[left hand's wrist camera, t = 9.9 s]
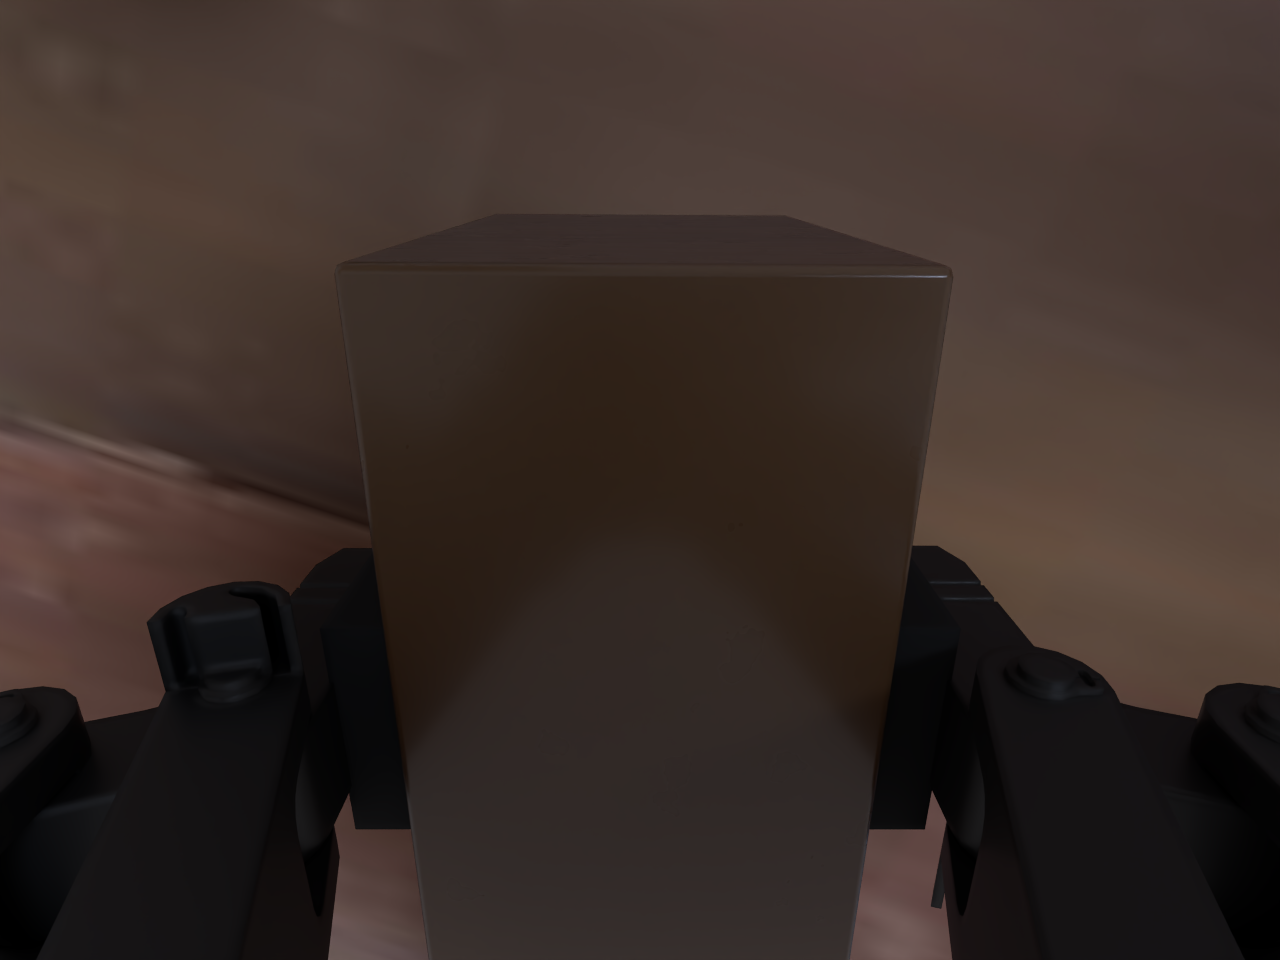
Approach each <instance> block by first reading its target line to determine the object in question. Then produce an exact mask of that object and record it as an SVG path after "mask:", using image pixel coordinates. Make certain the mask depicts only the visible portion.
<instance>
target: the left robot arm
mask: <svg viewBox="0 0 1280 960" xmlns="http://www.w3.org/2000/svg"><path fill="white" fill-rule="evenodd" d="M147 626H148V629H149V633H150V636H151V640H152V644H153V647H154V651H155V654H156V658H157V662H158V665H159V669H160V673H161V676H162V680H163V683H164V687H165V691H166V692H165V695H164V697H163V699H162V701H161V703H160V705H159V707H156V708H152V709H148V710H144V711H139V712H134V713H129V714H123V715H118V716H113V717H108V718H103V719H98V720H93V721H87V722H84V720H83V717H82V714H81V711H80V708H79V705H78V702H77V699H76V697H75V696H73V695H72V694H70V693H69V692H68V691H66V690H65V689H60V688H52V687H44V686H42V687H33V688H25V689H13V690H8V691H4V692H0V960H328V954H329V945H330V936H331V928H332V919H333V910H334V902H335V893H336V884H337V876H338V867H339V858H340V856H339V850H338V844H337V838H336V833H335V828H334V824H335V822H336V819H337V817H338V815H339V813H340V811H341V809H342V807H343V804H344V802H345V800H346V798H347V796H348V794H349V795H350V801H351V806H352V812H353V817H354V823H355V828H356V829H411V826H410V819H409V812H408V804H407V797H406V790H405V783H404V775H403V768H402V761H401V754H400V746H399V739H398V732H397V724H396V717H395V710H394V703H393V695H392V688H391V681H390V673H389V666H388V659H387V652H386V644H385V637H384V630H383V622H382V615H381V608H380V601H379V593H378V586H377V579H376V572H375V564H374V557H373V550H372V548H343V549H342V550H340V551H338V552H337V553H335V554H333V555H332V556H330V557H328V558H327V559H325V560H323V561H322V562H320V563H318V564H317V565H316V566H315V567H314V568H313V569H312V570H311V572H310V573H309V574H308V575H307V577H306V578H305V579H304V580H303V582H302V583H301V584H300V588H297V589H296V590H295V591H294V593H293V594H292V595H291V596H290V595H289V593H288V592H287V591H285V590H284V589H283V588H281V587H280V586H278V585H275V584H270V583H265V582H260V581H250V582H231V583H226V584H221V585H216V586H211V587H207V588H204V589H201V590H198V591H195V592H193V593H190V594H187V595H184V596H181V597H180V598H178V599H176V600H174V601H173V602H171V603H169V604H168V605H166V606H164V607H162V608H161V609H159V610H158V611H157V612H156V613H155V615H154V616H153V617H152V618H151V619H150V620H149V621H148V622H147ZM932 791H933V793H934V795H935V797H936V799H937V802H938V804H939V806H940V808H941V810H942V812H943V814H944V817H945V819H946V821H947V823H946V828H945V833H944V838H943V843H942V848H941V854H940V859H939V864H938V869H937V874H936V879H935V885H934V890H933V896H932V902H931V907H935V908H940V909H941V907H942V903H943V898H944V893H945V900H946V908H947V917H948V926H949V934H950V943H951V952H952V960H1280V688H1276V687H1271V686H1265V685H1264V686H1261V685H1253V684H1244V683H1234V684H1226V685H1219V686H1216V687H1215V688H1214V689H1212V690H1211V691H1209V692H1208V693H1206V695H1205V698H1204V701H1203V704H1202V707H1201V710H1200V713H1199V716H1198V719H1195V718H1190V717H1185V716H1180V715H1175V714H1170V713H1164V712H1159V711H1154V710H1149V709H1144V708H1139V707H1134V706H1130V705H1126V704H1122V703H1120V701H1119V699H1118V697H1117V695H1116V693H1115V691H1114V690H1113V689H1112V687H1111V686H1110V685H1109V684H1108V682H1107V681H1106V680H1105V679H1104V677H1103V676H1102V675H1100V674H1099V673H1097V672H1096V671H1094V670H1093V669H1092V668H1090V667H1089V666H1087V665H1086V664H1084V663H1083V662H1081V661H1078V660H1076V659H1074V658H1071V657H1069V656H1066V655H1064V654H1062V653H1059V652H1056V651H1052V650H1048V649H1043V648H1039V647H1034V646H1033V644H1032V643H1031V642H1030V641H1029V640H1028V638H1027V637H1026V636H1025V635H1024V634H1023V632H1022V631H1021V630H1020V629H1019V627H1018V626H1017V625H1016V624H1015V623H1014V621H1013V620H1012V619H1011V618H1010V617H1009V615H1008V614H1007V613H1006V612H1005V610H1004V609H1003V608H1002V607H1001V606H1000V604H999V603H998V602H994V597H993V596H992V595H991V594H990V592H989V591H988V590H987V589H986V587H985V586H984V585H981V581H980V580H979V579H978V578H977V577H976V575H975V574H974V573H973V572H972V570H971V569H970V568H969V567H968V566H967V564H966V563H965V562H963V561H962V560H960V559H958V558H957V557H955V556H953V555H952V554H950V553H948V552H947V551H945V550H943V549H942V548H940V547H938V546H912V551H911V558H910V565H909V571H908V578H907V584H906V591H905V597H904V604H903V611H902V617H901V624H900V630H899V637H898V644H897V650H896V657H895V663H894V670H893V676H892V683H891V690H890V696H889V703H888V709H887V716H886V723H885V729H884V736H883V742H882V749H881V756H880V762H879V769H878V775H877V782H876V788H875V795H874V802H873V808H872V815H871V821H870V828H869V829H925V825H926V820H927V814H928V809H929V803H930V798H931V792H932Z"/></svg>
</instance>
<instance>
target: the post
mask: <svg viewBox="0 0 1280 960" xmlns="http://www.w3.org/2000/svg"><path fill="white" fill-rule="evenodd" d="M335 280H336V288H337V295H338V302H339V310H340V317H341V324H342V331H343V339H344V346H345V353H346V360H347V368H348V375H349V382H350V390H351V397H352V404H353V411H354V419H355V426H356V433H357V441H358V448H359V455H360V462H361V470H362V477H363V484H364V491H365V499H366V506H367V513H368V521H369V528H370V535H371V542H372V550H373V557H374V564H375V572H376V579H377V586H378V593H379V601H380V608H381V615H382V622H383V630H384V637H385V644H386V652H387V659H388V666H389V673H390V681H391V688H392V695H393V703H394V710H395V717H396V724H397V732H398V739H399V746H400V754H401V761H402V768H403V775H404V783H405V790H406V797H407V804H408V812H409V819H410V826H411V834H412V841H413V848H414V855H415V863H416V870H417V877H418V885H419V892H420V899H421V906H422V914H423V921H424V928H425V935H426V943H427V950H428V957H429V960H850V953H851V947H852V940H853V933H854V927H855V920H856V914H857V907H858V900H859V894H860V887H861V881H862V874H863V867H864V861H865V854H866V848H867V841H868V835H869V828H870V821H871V815H872V808H873V802H874V795H875V788H876V782H877V775H878V769H879V762H880V756H881V749H882V742H883V736H884V729H885V723H886V716H887V709H888V703H889V696H890V690H891V683H892V676H893V670H894V663H895V657H896V650H897V644H898V637H899V630H900V624H901V617H902V611H903V604H904V597H905V591H906V584H907V578H908V571H909V565H910V558H911V551H912V545H913V538H914V532H915V525H916V518H917V512H918V505H919V499H920V492H921V485H922V479H923V472H924V466H925V459H926V453H927V446H928V439H929V433H930V426H931V420H932V413H933V406H934V400H935V393H936V387H937V380H938V374H939V367H940V360H941V354H942V347H943V341H944V334H945V327H946V321H947V314H948V308H949V301H950V294H951V288H952V281H953V274H952V270H951V268H949V267H947V266H945V265H942V264H939V263H936V262H933V261H929V260H926V259H923V258H920V257H916V256H913V255H910V254H907V253H904V252H900V251H897V250H894V249H891V248H888V247H884V246H881V245H878V244H875V243H871V242H868V241H865V240H862V239H859V238H855V237H852V236H849V235H846V234H843V233H839V232H836V231H833V230H830V229H826V228H823V227H820V226H817V225H814V224H810V223H807V222H804V221H801V220H797V219H794V218H791V217H788V216H759V215H581V214H495V215H492V216H489V217H486V218H482V219H479V220H476V221H473V222H470V223H466V224H463V225H460V226H457V227H454V228H450V229H447V230H444V231H441V232H438V233H435V234H431V235H428V236H425V237H422V238H419V239H415V240H412V241H409V242H406V243H403V244H399V245H396V246H393V247H390V248H387V249H384V250H380V251H377V252H374V253H371V254H368V255H364V256H361V257H358V258H355V259H352V260H348V261H345V262H343V263H341V264H338V265H337V267H336V270H335Z"/></svg>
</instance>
